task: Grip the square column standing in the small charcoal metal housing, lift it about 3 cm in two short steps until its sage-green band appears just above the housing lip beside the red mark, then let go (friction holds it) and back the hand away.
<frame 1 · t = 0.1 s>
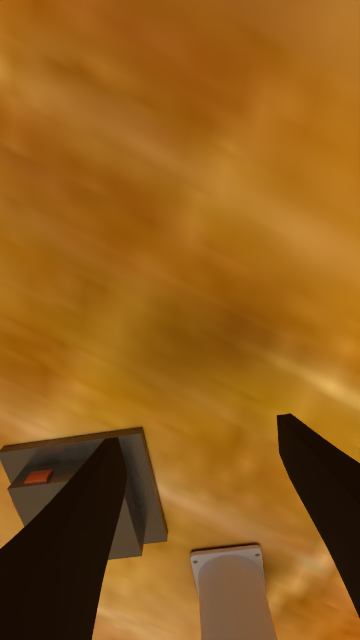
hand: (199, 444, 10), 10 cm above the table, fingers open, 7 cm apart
housing: (90, 492, 24), on the table
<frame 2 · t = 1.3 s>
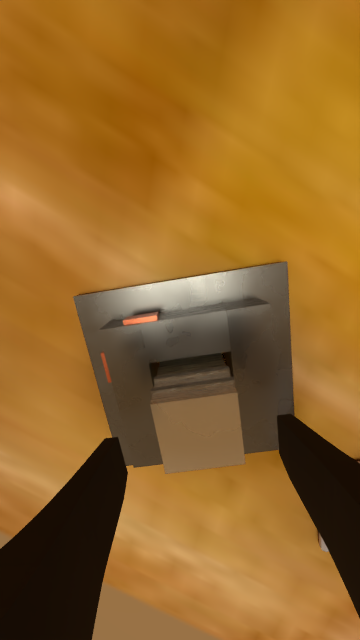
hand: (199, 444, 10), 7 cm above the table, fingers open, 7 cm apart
housing: (193, 371, 17), on the table
column: (195, 396, 14), point 3 cm above the table, slide at 0.0 cm
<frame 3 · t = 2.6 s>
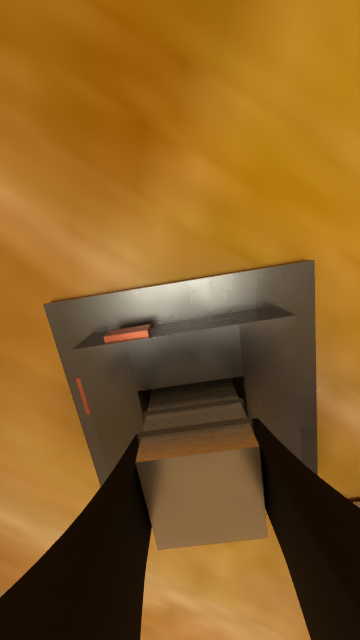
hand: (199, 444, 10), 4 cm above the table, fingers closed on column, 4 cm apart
housing: (194, 394, 14), on the table
column: (197, 432, 11), point 3 cm above the table, slide at 0.0 cm, touching gripper
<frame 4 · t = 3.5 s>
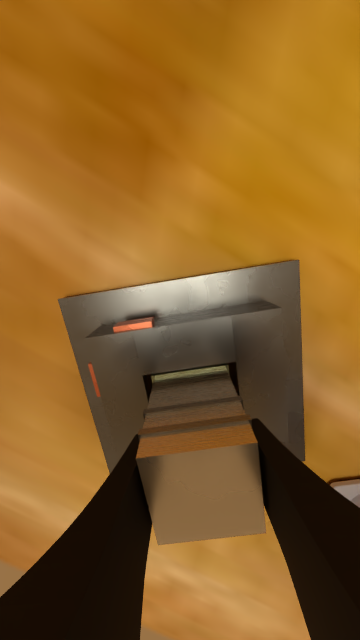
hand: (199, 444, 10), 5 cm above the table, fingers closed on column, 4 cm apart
housing: (192, 381, 15), on the table
column: (197, 430, 11), point 5 cm above the table, slide at 1.3 cm, touching gripper
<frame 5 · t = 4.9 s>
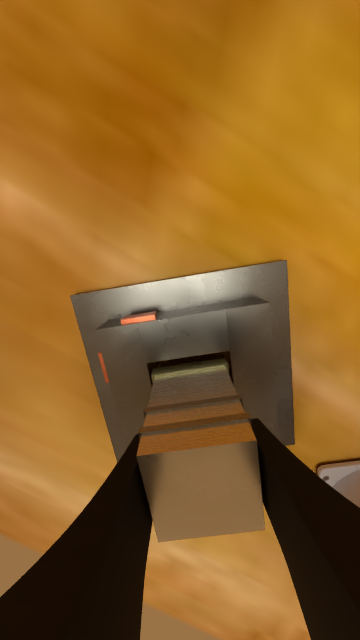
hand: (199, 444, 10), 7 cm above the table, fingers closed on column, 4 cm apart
housing: (191, 371, 17), on the table
column: (197, 428, 11), point 6 cm above the table, slide at 2.8 cm, touching gripper
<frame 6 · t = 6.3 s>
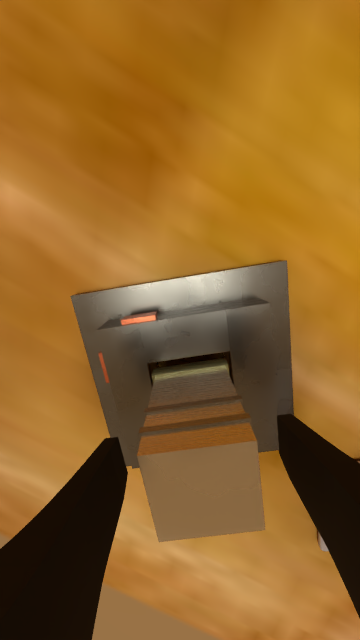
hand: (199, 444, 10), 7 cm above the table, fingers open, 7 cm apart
housing: (191, 371, 17), on the table
column: (197, 428, 11), point 6 cm above the table, slide at 2.8 cm
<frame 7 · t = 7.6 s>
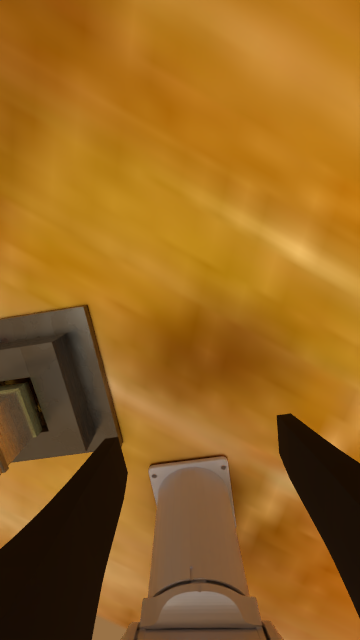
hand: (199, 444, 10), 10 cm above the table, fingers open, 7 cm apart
housing: (33, 389, 21), on the table
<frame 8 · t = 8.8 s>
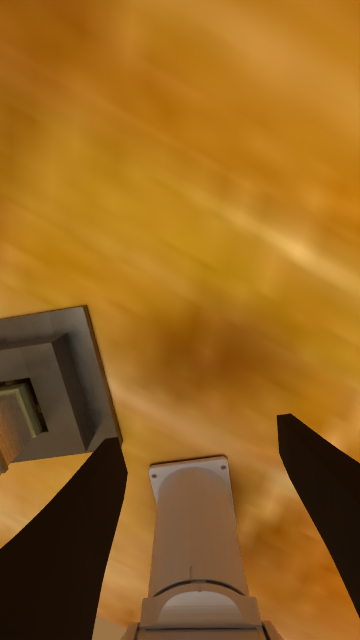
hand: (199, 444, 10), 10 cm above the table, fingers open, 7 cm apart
housing: (33, 389, 21), on the table
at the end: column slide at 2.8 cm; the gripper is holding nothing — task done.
